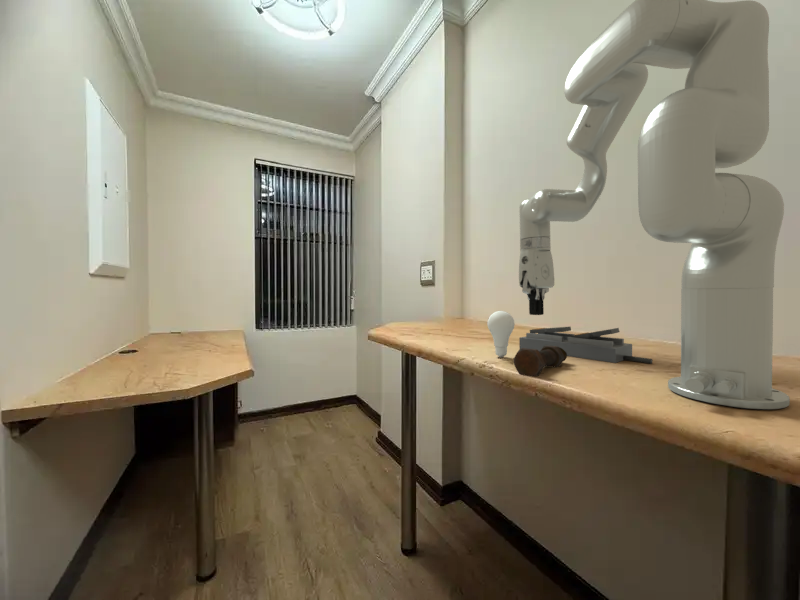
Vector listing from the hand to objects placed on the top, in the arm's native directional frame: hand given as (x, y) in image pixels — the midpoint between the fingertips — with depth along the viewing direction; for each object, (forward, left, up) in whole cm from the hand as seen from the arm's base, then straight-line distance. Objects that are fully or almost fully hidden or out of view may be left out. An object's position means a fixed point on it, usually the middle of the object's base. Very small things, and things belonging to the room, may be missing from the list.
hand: (536, 314), depth 89 cm
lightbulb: (-17, -1, -9) cm, 19 cm away
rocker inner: (0, -15, -4) cm, 15 cm away
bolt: (-19, -14, -10) cm, 26 cm away
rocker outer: (0, -4, -4) cm, 6 cm away
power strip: (0, -12, -9) cm, 15 cm away
